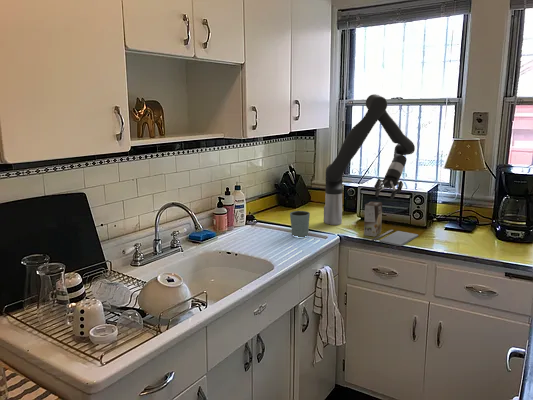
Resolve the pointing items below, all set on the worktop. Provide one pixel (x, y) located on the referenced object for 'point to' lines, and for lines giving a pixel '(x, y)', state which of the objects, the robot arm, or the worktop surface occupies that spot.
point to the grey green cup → (300, 223)
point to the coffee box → (373, 218)
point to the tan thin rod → (382, 235)
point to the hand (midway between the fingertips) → (383, 196)
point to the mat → (399, 238)
